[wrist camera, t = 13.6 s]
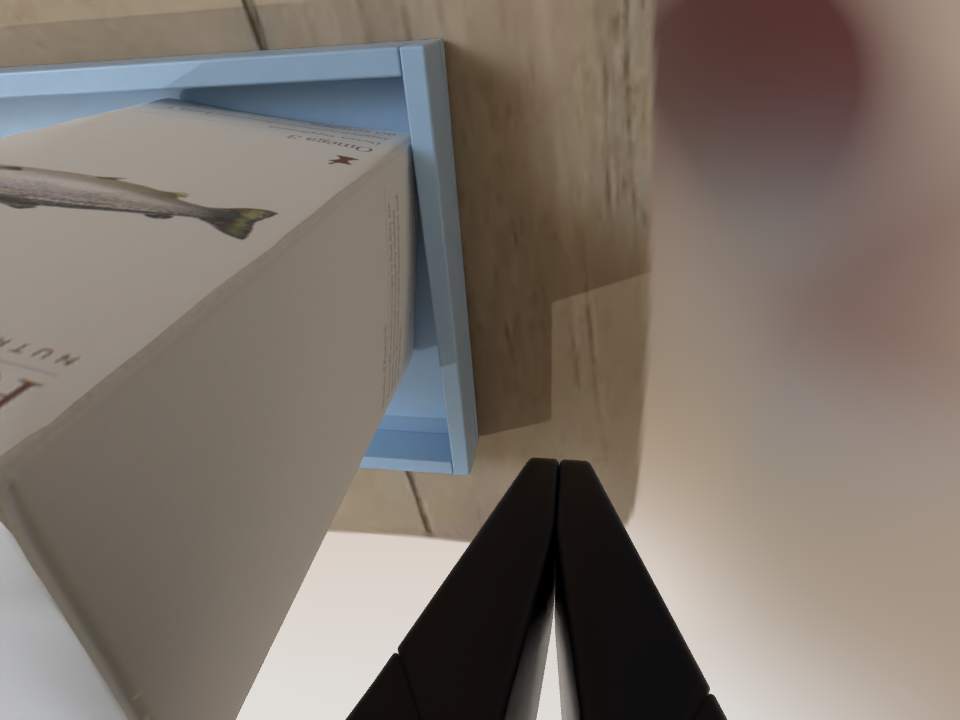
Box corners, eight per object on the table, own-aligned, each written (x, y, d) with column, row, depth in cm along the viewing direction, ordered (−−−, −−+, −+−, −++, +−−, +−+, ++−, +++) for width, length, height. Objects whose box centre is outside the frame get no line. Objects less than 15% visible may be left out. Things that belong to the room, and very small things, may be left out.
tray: (444, 38, 13) (424, 44, 12) (479, 438, 21) (470, 476, 19) (-263, 85, 17) (-351, 94, 16) (-24, 407, 25) (-67, 436, 23)
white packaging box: (428, 127, 14) (4, 492, 4) (416, 357, 18) (200, 823, 8) (163, 85, 15) (-836, 310, 4) (210, 319, 19) (-238, 712, 9)
